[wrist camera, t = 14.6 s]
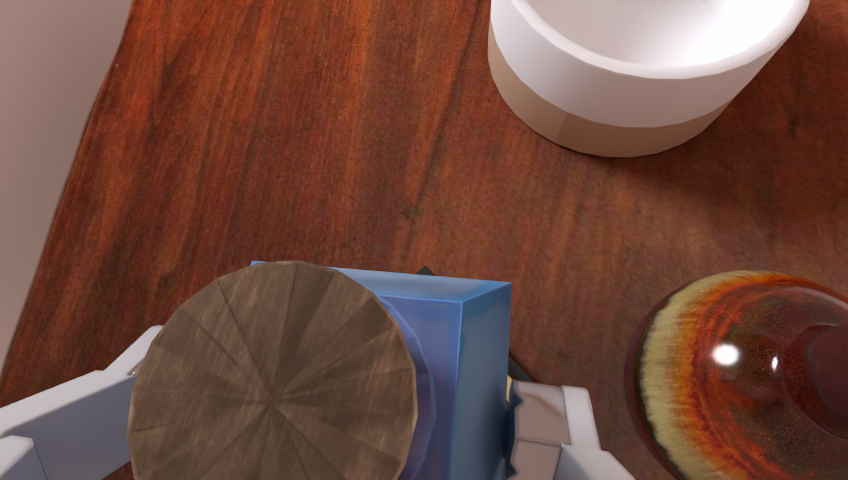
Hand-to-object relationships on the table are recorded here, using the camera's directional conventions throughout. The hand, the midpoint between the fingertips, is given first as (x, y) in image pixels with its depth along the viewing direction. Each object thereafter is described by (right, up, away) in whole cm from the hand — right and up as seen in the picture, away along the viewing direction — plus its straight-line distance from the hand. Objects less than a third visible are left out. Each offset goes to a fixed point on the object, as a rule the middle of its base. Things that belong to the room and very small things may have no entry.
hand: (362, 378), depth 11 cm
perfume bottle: (0, -3, +6) cm, 7 cm away
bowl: (+14, +16, +25) cm, 33 cm away
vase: (+17, -6, +17) cm, 25 cm away
